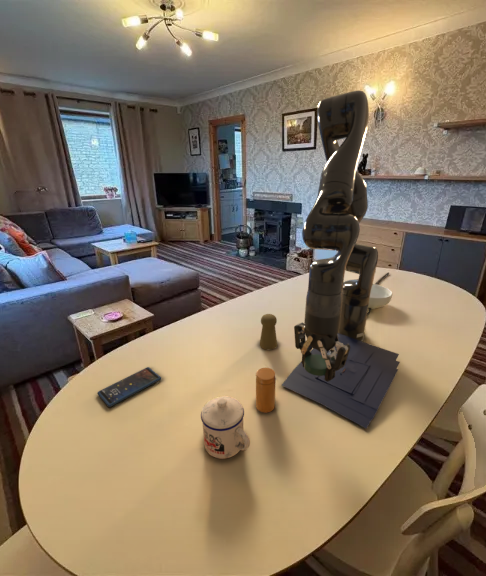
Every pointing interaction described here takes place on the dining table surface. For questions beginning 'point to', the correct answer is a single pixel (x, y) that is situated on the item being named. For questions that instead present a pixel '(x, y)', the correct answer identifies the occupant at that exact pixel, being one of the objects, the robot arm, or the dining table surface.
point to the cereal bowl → (379, 296)
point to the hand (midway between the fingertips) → (317, 372)
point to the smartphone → (128, 386)
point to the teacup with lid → (224, 427)
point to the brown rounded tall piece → (268, 332)
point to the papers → (350, 381)
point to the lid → (315, 365)
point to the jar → (265, 389)
